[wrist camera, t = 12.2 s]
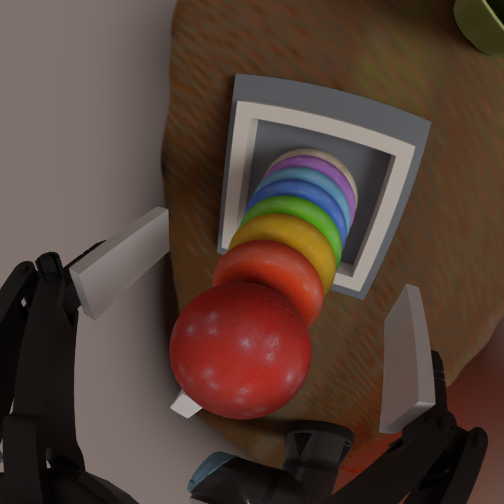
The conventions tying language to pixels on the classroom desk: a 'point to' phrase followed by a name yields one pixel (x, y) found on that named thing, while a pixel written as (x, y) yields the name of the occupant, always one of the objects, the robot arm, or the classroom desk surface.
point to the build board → (335, 143)
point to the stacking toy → (267, 290)
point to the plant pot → (482, 24)
